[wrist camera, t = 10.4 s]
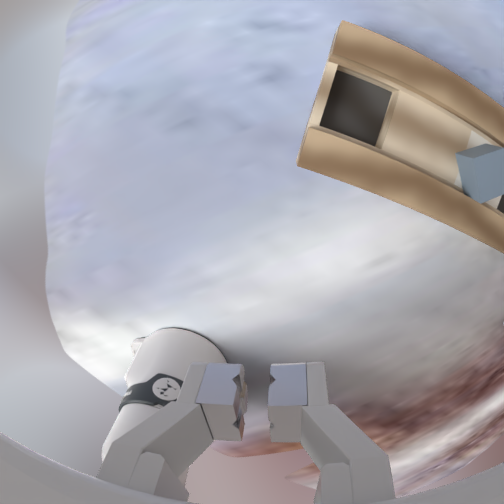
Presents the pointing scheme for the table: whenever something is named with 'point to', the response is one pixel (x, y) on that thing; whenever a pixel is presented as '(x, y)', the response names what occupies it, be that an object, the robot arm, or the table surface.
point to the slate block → (482, 172)
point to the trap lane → (402, 130)
